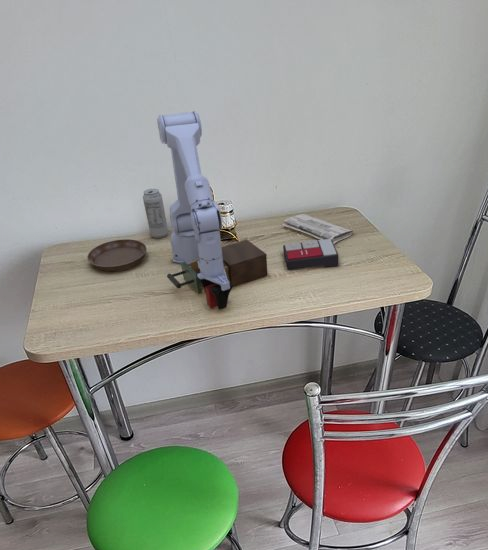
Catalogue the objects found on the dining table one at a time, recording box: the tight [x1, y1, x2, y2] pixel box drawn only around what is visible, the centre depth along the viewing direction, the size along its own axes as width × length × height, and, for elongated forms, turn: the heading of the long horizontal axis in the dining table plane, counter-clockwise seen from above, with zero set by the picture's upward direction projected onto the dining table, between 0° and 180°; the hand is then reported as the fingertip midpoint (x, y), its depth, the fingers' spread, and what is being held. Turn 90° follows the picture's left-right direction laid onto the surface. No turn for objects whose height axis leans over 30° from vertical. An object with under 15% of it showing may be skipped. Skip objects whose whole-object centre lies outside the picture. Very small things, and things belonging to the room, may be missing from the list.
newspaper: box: [281, 213, 354, 245], centre depth 161 cm, size 23×12×2 cm, turn 43°
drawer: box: [166, 259, 231, 295], centre depth 133 cm, size 16×10×5 cm, turn 121°
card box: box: [205, 283, 218, 309], centre depth 126 cm, size 5×2×6 cm, turn 121°
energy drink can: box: [142, 188, 169, 239], centre depth 159 cm, size 6×6×15 cm
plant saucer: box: [86, 238, 148, 272], centre depth 149 cm, size 18×18×3 cm
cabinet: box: [221, 239, 268, 288], centre depth 138 cm, size 11×11×7 cm
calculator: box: [282, 239, 339, 271], centre depth 144 cm, size 11×4×15 cm
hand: (216, 302), depth 127 cm, fingers open, 6 cm apart
